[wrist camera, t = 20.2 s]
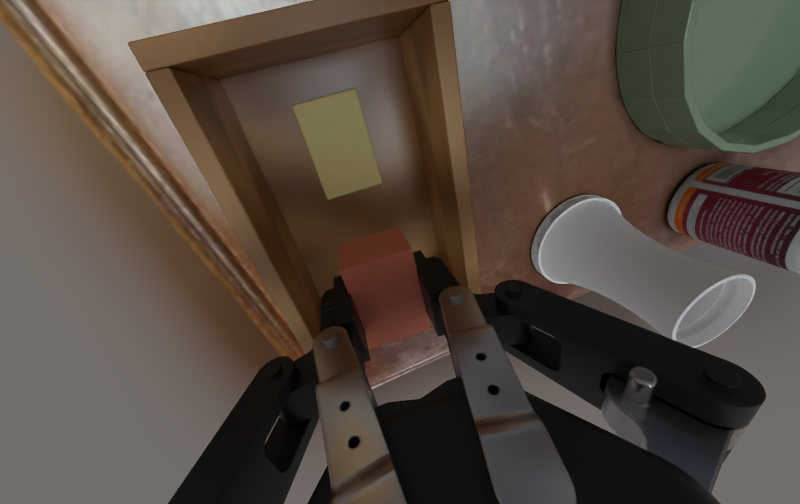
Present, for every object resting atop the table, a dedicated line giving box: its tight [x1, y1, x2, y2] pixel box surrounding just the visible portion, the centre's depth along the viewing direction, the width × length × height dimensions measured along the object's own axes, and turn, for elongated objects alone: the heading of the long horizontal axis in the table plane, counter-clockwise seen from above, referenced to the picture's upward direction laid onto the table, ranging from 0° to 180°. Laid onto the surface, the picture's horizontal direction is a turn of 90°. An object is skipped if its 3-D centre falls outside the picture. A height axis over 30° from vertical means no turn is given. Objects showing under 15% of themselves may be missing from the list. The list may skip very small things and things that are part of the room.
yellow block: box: [292, 88, 382, 200], centre depth 15 cm, size 4×3×2 cm, turn 14°
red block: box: [338, 227, 431, 349], centre depth 13 cm, size 4×3×2 cm, turn 13°
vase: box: [531, 195, 756, 348], centre depth 19 cm, size 8×8×10 cm
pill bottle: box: [667, 163, 800, 274], centre depth 20 cm, size 6×6×11 cm
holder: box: [128, 0, 482, 354], centre depth 15 cm, size 16×11×6 cm
